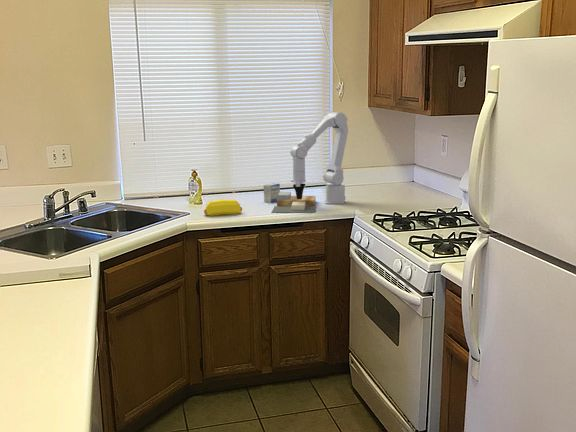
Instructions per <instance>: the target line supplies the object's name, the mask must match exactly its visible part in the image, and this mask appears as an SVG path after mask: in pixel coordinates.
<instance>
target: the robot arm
mask: <svg viewBox="0 0 576 432" xmlns="http://www.w3.org/2000/svg"><path fill="white" fill-rule="evenodd" d="M348 127H349V126H348V117H347V116H346V114H345V113H343V112H336V111H335V112H334V111H329V112H327V113H326V114H325V115H324V116H323V118H322V120H321V121H320V123H318V125H317V126H316V127H315V128H314V130H313V131H312V132H311V133H307V134H304V135H303V137H302V139H301V140H300V141H299V142H298V143H296V144H297V145H294V146H292V148H291V149H290V153H289V154H290V156H291V157H292V179H290V182H291V183H294V184H293V186H292V187H293V189H294V192H295V196H296V197H297V199H302V196H304V194H303V193H304V189H305V186H306V182H307V181H306V180H307V179H306V157H307V156H308V152H309V150H310V149H311V148H312V147H313V146H314V145H316V143H317V139H318V138H319V136H321V135H322V134H323V133H324V132H325V131H326V130H327V129H328V128H332V129H334V131H335V132H336V133H335V139H334V143H333V148H332V152H331V158H330V163H329V165H328V166H327V167H326V170H325V171H324V173H323V176H322V177H323V180H324V182H325V202H324V204H326V205H330V204H332V205H333V204H336V205H339V204H340V205H341V204H342V205H343V204H346V203H345V201H346V193H345V191H346V190H345V189H346V186H345V184H342V183H343V181H344V169H343V167H342V165H343V164H342V163H343V159H344V155H345V154H344V153H345V148H346V144H347V139H348V136H349V135H348V134H349V128H348Z"/></svg>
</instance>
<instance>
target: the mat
mask: <svg viewBox="0 0 576 432" xmlns="http://www.w3.org/2000/svg"><path fill="white" fill-rule="evenodd" d="M316 209H317V205H314V206H305V209H304V210H291V206H277V205H274V207H273V209H272V210H271V214H314V213H315V214H316Z"/></svg>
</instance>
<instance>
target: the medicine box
mask: <svg viewBox="0 0 576 432" xmlns="http://www.w3.org/2000/svg"><path fill="white" fill-rule="evenodd" d="M279 192H281V185H280V183H278V182H277V183H276V182H271V183H267V184H263V202H264V203H269V204H270V203H274V202H277V199H278V194H279Z"/></svg>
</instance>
